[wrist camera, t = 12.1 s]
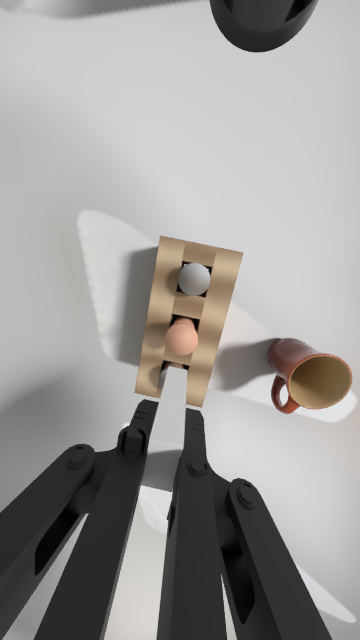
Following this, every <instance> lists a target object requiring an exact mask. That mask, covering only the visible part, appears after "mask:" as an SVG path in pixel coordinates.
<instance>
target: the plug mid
mask: <svg viewBox="0 0 360 640" xmlns="http://www.w3.org/2000/svg"><path fill="white" fill-rule="evenodd" d="M165 342H166V346H167V347H168V349H169V350H170V351H171V352H172V353H174V354H176V355H187V354H190V353H191V352H193V351H194V350H195V348H196V347H197V344H198V335H197V332H196V330H195V328H194V320H193V318H191V317H187V316H182V315H179V316H178V317H177V318H176V319H175V321H174V324H173V325H172V326H171V327H170V328H169V329H168V331H167V333H166V336H165Z"/></svg>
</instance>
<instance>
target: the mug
mask: <svg viewBox="0 0 360 640" xmlns="http://www.w3.org/2000/svg"><path fill="white" fill-rule="evenodd" d="M268 362H269V364H270V366H271V368H272V370H273V371H274V372H275V373H276V377H275V379H274V382H273V386H272V389H271V398H272V401H273V404H274V406H275V407H276V408H277V409H278V410H279V411H280V412H282V413H284V414H290V413H292V412H293V411H295V410H296V409H297V408H298V407H300V406H302V407H305V408H308V409H322V408H327V407H330V406H332V405H334V404H336V403H338V402H339V401H340V400H342V399H343V398H344V397H345V396H346V394H347V393H348V391H349V389H350V387H351V384H352V373H351V370H350V368H349V366H348V365H347V364H346V363H345V362H344V361H343V360H342V359H341V358H339V357H337V356H334V355H330V354H325V353H320V352H318V351H316V350H315V349H313V348H312V347H310V346H309V345H307V344H306V343H304V342H302V341H299V340H297V339H292V338H284V339H280V340H278V341H276V342H275V343H274V344H273V345H272V346H271V347H270V349H269V351H268ZM285 384H286V387H287V390H288V393H289V395H288V401H287V402H286V404H285V405H284V406H283V405H282V403H281V401H280V396H279V395H280V390H281V388H282V387H283V386H284V385H285Z"/></svg>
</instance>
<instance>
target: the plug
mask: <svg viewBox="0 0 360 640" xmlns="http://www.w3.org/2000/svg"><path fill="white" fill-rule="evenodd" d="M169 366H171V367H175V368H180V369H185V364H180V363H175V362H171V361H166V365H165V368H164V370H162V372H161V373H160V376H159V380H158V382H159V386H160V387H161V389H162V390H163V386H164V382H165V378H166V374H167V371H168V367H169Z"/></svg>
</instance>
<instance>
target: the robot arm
mask: <svg viewBox="0 0 360 640" xmlns="http://www.w3.org/2000/svg"><path fill="white" fill-rule="evenodd" d="M317 2H318V0H210V5H211V10H212V14H213V17H214V19H215V22H216V23H217V26H218V28H219V29H220V31H221V32H222V34H223V35H224V36H225V38H226V39H227V40H228V41H230V42H231V43H232V44H233V45H235V46H236V47H238V48H240V49H242V50H245V51H249V52H266V51H270V50H273V49H275V48H278V47H280V46H282V45H283V44H285V43H286V42H288V41H289V40H290V39H292V38H293V37H294V36H295V35H296V34H297V33H298V32H299V31H300V30H301V29H302V27H303V26H304V25H305V24H306V22H307V21H308V19H309V18H310V16H311V14H312V12H313V11H314V9H315V6H316V5H317ZM187 372H188V370H185V369H180V368H175V367H171V366H169V367H168V371H167V374H166V378H165V382H164V386H163V390H162V393H161V397H160V401H159V402H155V401H150V400H145V399H144V400H143V401H141V402H140V403H139V404H138V406H137V409H136V411H135V413H134V416H133V418H132V420H131V423H130V425H129V426H127V427H125V428H124V429H122V430H121V432H120V433H119V436H118V442H117V447H116V448H114V449H112V450H109V451H103V452H94V449H93V448H92V447H91V446H90V445H86V444H77V445H75V446H72V447H70V448H69V449H67V450H66V451H64V452H63V453H62V454H61V455H60V456H59V457H58V458H57V459H56V460H55V461H54V462H53V463H52V464H51V465H50V466H49V467H48V468H47V469H46V470H45V471H44V472H43V473H41V474H40V475H39V477H37V478H36V479H35V480H34V481H33V482H32V483H31V484H30V485H29V486H28V487H27V488H26V489H25V490H24V491H23V492H22V493H21V494H20V495H19V496H17V498H15V500H13V501H12V502H11V503H10V504H9V505H8V506H7V507H6V508H5V509H4V510H3V511H2V512H1V513H0V640H2V639H3V637H4V636H5V634H6V633H7V631H8V630H9V628H10V627H11V625H12V624H13V622H14V621H15V619H16V618H17V616H18V615H19V613H20V612H21V610H22V609H23V607H24V606H25V604H26V603H27V601H28V600H29V598H30V596H31V595H32V594H33V592H34V591H35V589H36V588H37V586H38V585H39V583H40V582H41V580H42V579H43V577H44V576H45V574H46V573H47V571H48V570H49V568H50V566H51V565H52V563H53V562H54V561H55V559H56V558H57V556H58V555H59V553H60V552H61V550H62V549H63V547H64V545H65V544H66V543H67V541H68V540H69V538H70V536H71V535H72V534H73V532H74V531H75V529H76V528H77V526H78V525H79V523H80V522H81V520H82V518H83V517H84V516H85V514H86V513H89V514H88V516H87V518H86V521H85V523H84V525H83V528H82V530H81V532H80V534H79V537H78V539H77V541H76V544H75V546H74V548H73V551H72V553H71V555H70V557H69V560H68V562H67V564H66V566H65V569H64V571H63V573H62V576H61V578H60V581H59V583H58V585H57V587H56V590H55V592H54V594H53V596H52V599H51V601H50V603H49V606H48V608H47V610H46V613H45V615H44V617H43V619H42V622H41V624H40V627H39V628H38V631H37V634H36V635H35V638H34V640H104V636H105V631H106V628H107V623H108V619H109V615H110V611H111V607H112V603H113V599H114V594H115V590H116V586H117V582H118V578H119V574H120V570H121V566H122V562H123V557H124V553H125V549H126V545H127V541H128V537H129V533H130V529H131V525H132V521H133V516H134V512H135V508H136V504H137V500H138V495H139V490H140V486H141V485H143V486H147V487H152V488H156V489H161V490H165V491H169V492H172V489H173V494H172V501H171V504H170V508H169V512H168V516H167V520H168V530H167V540H166V550H165V561H164V570H163V580H162V590H161V600H160V611H159V620H158V630H157V640H227V633H226V622H225V612H224V601H223V590H222V580H221V574H222V578H223V583H224V587H225V590H226V595H227V599H228V603H229V607H230V611H231V615H232V620H233V624H234V628H235V632H236V636H237V640H332V638H331V636H330V634H329V632H328V630H327V628H326V626H325V624H324V622H323V620H322V618H321V616H320V614H319V612H318V610H317V608H316V606H315V604H314V602H313V600H312V598H311V596H310V594H309V592H308V590H307V588H306V586H305V584H304V582H303V580H302V578H301V575H300V573H299V571H298V569H297V567H296V565H295V563H294V561H293V559H292V558H291V555H290V553H289V551H288V549H287V547H286V546H285V543H284V541H283V539H282V537H281V535H280V533H279V531H278V529H277V527H276V525H275V523H274V521H273V519H272V517H271V515H270V513H269V511H268V509H267V507H266V505H265V503H264V501H263V499H262V497H261V495H260V494H259V492H258V490H257V489H256V488H255V487H254V486H253V485H252V484H251V483H250V482H248V481H246V480H244V479H240V478H237V479H234V480H233V481H232V482H231V483H230V482H229V481H227V480H225V479H224V478H222V477H220V476H218V475H217V474H216V473H215V472H214V471H213V470H212V469H211V467H210V465H209V463H208V461H207V456H206V444H205V433H204V420H203V419H204V418H203V416H202V414H201V412H200V411H198V410H193V409H189V408H186V392H187Z"/></svg>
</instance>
